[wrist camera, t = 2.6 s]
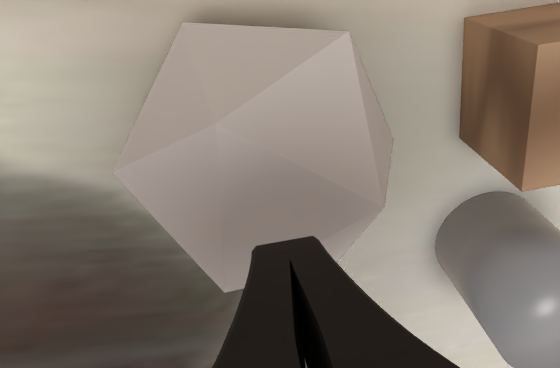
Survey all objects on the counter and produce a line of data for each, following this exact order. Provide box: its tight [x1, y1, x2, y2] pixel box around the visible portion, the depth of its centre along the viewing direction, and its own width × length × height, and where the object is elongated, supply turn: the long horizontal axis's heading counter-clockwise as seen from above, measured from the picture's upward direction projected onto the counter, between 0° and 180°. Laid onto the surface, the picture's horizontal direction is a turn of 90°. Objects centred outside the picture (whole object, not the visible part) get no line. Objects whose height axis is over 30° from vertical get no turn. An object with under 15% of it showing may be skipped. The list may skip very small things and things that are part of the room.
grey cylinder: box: [435, 192, 560, 368], centre depth 21 cm, size 5×5×6 cm
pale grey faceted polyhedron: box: [111, 22, 393, 293], centre depth 17 cm, size 8×9×10 cm
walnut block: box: [459, 3, 560, 191], centre depth 18 cm, size 5×5×5 cm
